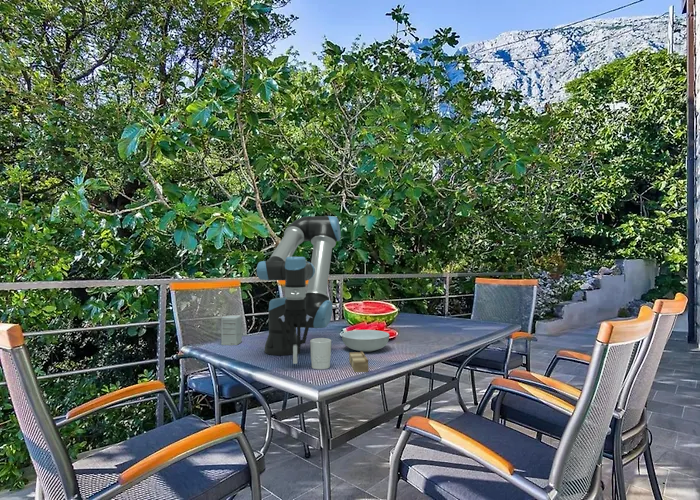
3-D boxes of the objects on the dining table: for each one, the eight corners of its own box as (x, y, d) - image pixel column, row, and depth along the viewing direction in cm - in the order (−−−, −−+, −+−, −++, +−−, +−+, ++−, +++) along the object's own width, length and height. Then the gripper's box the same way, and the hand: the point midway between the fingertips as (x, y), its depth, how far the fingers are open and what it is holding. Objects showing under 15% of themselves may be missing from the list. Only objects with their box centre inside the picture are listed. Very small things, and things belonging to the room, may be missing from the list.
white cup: (306, 366, 160) (306, 339, 160) (325, 363, 164) (325, 337, 164) (315, 371, 153) (315, 343, 153) (335, 368, 157) (335, 341, 157)
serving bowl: (337, 345, 196) (337, 330, 196) (381, 343, 200) (381, 328, 200) (347, 356, 175) (347, 339, 175) (395, 353, 180) (396, 337, 180)
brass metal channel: (349, 361, 167) (349, 350, 167) (362, 361, 167) (362, 350, 167) (354, 372, 152) (354, 360, 152) (368, 371, 152) (368, 360, 152)
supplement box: (227, 342, 203) (227, 315, 203) (242, 342, 202) (242, 315, 202) (220, 345, 195) (220, 317, 195) (236, 345, 194) (236, 317, 195)
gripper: (276, 299, 153) (276, 365, 153) (313, 299, 155) (313, 364, 154) (278, 297, 160) (277, 360, 160) (312, 297, 162) (312, 359, 162)
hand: (295, 362), depth 157 cm, fingers closed
